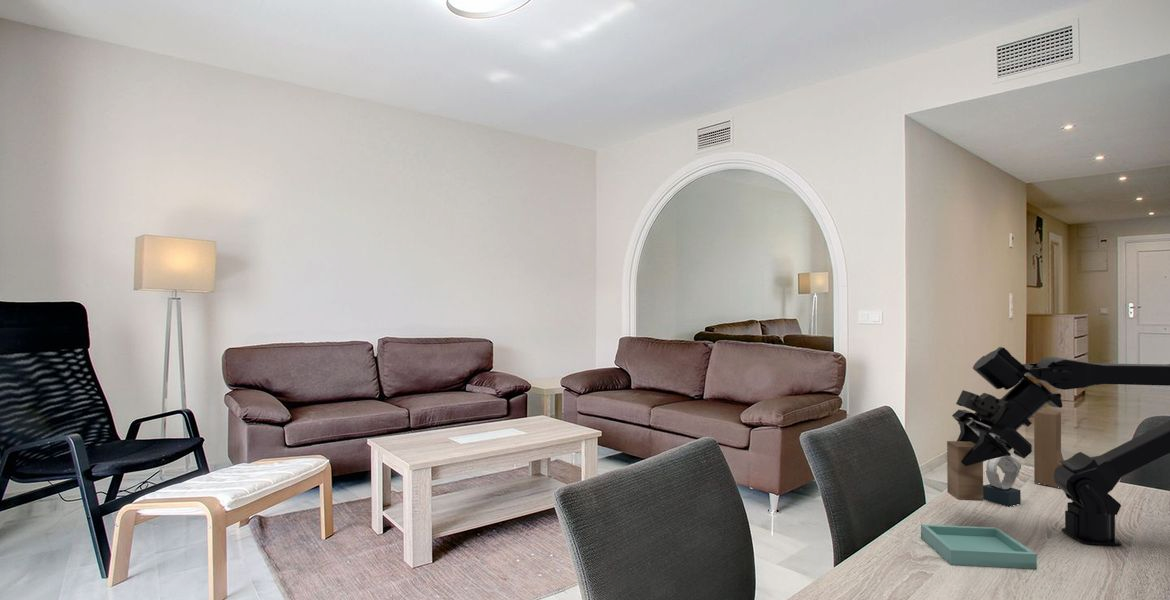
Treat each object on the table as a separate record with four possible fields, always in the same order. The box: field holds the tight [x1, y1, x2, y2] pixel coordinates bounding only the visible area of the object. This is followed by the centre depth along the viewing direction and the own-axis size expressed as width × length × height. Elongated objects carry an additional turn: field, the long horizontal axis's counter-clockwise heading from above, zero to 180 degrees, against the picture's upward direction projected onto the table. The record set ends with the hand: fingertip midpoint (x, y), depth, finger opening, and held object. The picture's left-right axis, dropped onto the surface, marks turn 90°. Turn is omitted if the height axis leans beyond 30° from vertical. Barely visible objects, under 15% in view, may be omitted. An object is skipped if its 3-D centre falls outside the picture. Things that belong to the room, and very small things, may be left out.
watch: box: [983, 454, 1022, 508], centre depth 131 cm, size 6×8×11 cm
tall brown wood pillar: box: [946, 440, 984, 502], centre depth 116 cm, size 4×4×10 cm
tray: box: [920, 523, 1038, 570], centre depth 105 cm, size 14×12×2 cm
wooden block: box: [1033, 408, 1065, 489], centre depth 142 cm, size 9×4×18 cm, turn 39°
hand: (957, 460), depth 116 cm, fingers closed on tall brown wood pillar, 4 cm apart
